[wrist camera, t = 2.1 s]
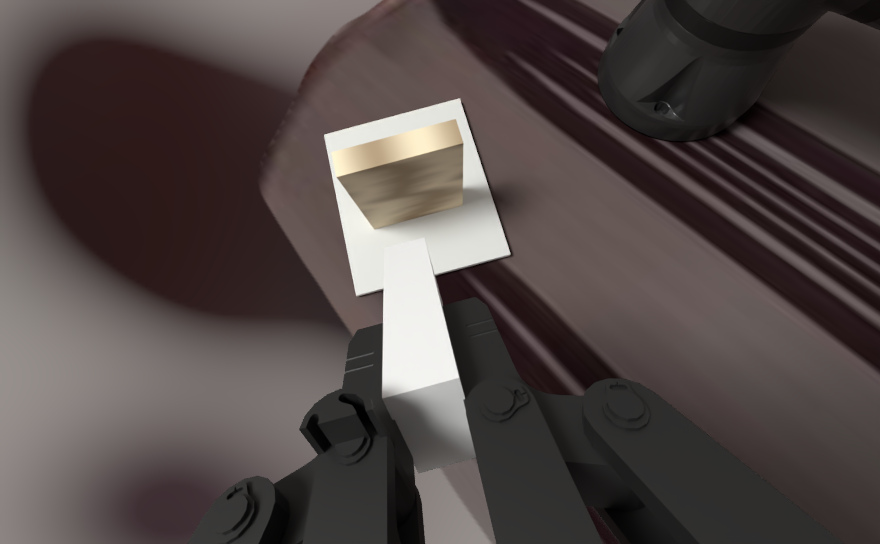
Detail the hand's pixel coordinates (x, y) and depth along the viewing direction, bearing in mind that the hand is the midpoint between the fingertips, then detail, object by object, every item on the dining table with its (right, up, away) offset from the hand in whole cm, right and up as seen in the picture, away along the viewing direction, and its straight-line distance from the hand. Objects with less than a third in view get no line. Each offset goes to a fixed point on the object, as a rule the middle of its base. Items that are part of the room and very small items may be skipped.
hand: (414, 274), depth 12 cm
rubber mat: (-2, +8, +21) cm, 23 cm away
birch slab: (-1, +6, +20) cm, 21 cm away
